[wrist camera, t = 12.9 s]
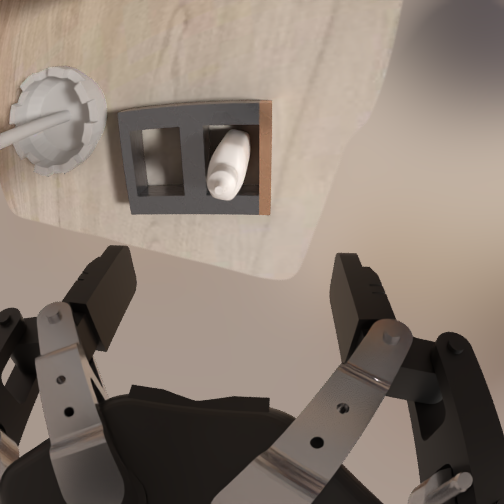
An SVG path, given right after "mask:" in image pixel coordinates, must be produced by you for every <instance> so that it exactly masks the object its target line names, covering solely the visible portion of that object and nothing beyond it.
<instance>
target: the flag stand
mask: <svg viewBox="0 0 504 504" xmlns="http://www.w3.org/2000/svg"><path fill="white" fill-rule="evenodd" d="M20 88H21V89H22V93H21V95H20V97H19V100H18V103H15V104H12V106H11V111H10V121H9V124H15V128H13V129H10V130H8V131H5V132H3V133H0V150H1V149H3V148H5V147H7V146H9V145H11V144H13V145H14V148H15V150H16V152H17V154H18V156H19V157H20V159H21V160H22V159H24V158H26V157H27V158H28V159H29V160H30V161H31V163H32V164H34V165H35V168H34V172H36V173H38V174H40V175H43V176H48V177H49V176H50V175H52V174H54V173H64V174H65V173H67V172H69V171H70V170H72V169H74V168H75V167H77V166H79V165H80V164H82V163H83V162H84V161H85V160H86V159H87V158H88V157H89V156H90V155H91V153H92V152H93V151H94V149H95V147H96V145H97V143H98V141H99V139H100V138H101V136H102V134H103V132H104V129H105V125H106V120H107V105H106V100H105V96H104V94H103V91H102V90H101V88H100V87H99V85H98V84H97V83H96V82H95V81H94V80H93V79H92V78H90V77H89V76H87V75H86V74H85V73H83V72H82V71H80V70H78V69H77V68H73V67H70V66H55V67H48V68H46V69H44V70H42V71H40V72H39V73H32V74H31V75H30V76H29V77H28V78H27V79H25V81H24V82H23V83H22V84H21V86H20Z"/></svg>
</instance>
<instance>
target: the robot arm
mask: <svg viewBox="0 0 504 504" xmlns="http://www.w3.org/2000/svg"><path fill="white" fill-rule="evenodd" d="M136 284H137V281H136V275H135V271H134V267H133V263H132V258H131V253H130V250H129V248H128V246H116V245H115V246H114V245H110V246H108V247H107V249H106V250H105V251H104V253H103V254H102V255H101V257H98V258H96V259H95V260H93V261H92V262H91V263H89V264H88V265H87V267H86V268H85V269H84V271H83V273H82V274H81V275H80V276H79V278H78V281H76V282H75V283H74V285H73V286H72V287H71V289H70V290H69V292H68V293H67V295H66V296H65V298H64V299H63V301H62V302H54V303H51V304H49V305H47V306H45V307H44V308H43V309H42V310H41V311H40V312H39V314H38V316H37V317H33V318H24V319H23V317H22V315H21V313H20V311H19V310H18V309H16V308H8V309H5V310H3V311H1V312H0V504H383V503H382V502H381V501H380V500H379V499H378V498H377V497H376V496H375V495H374V494H372V493H371V492H370V491H369V490H368V489H367V488H366V487H365V486H364V485H363V484H362V483H361V482H360V481H359V480H358V479H357V478H356V477H355V476H354V475H353V474H352V473H351V472H350V471H349V470H347V468H345V466H344V465H343V464H342V463H343V461H344V460H345V458H346V457H347V456H348V454H349V453H350V451H351V450H352V448H353V447H354V445H355V444H356V442H357V441H358V439H359V438H360V436H361V435H362V433H363V432H364V430H365V428H366V427H367V425H368V424H369V422H370V420H371V419H372V417H373V415H374V414H375V412H376V410H377V409H378V407H379V405H380V403H381V402H382V400H383V399H384V397H385V396H389V397H394V398H399V399H404V400H407V403H408V408H409V413H410V418H411V423H412V429H413V435H414V441H415V447H416V454H417V460H418V468H419V475H420V483H421V484H420V485H418V486H417V487H416V488H415V489H414V490H413V491H412V492H411V494H410V496H409V499H408V504H504V435H503V431H502V428H501V424H500V421H499V418H498V415H497V412H496V409H495V406H494V403H493V400H492V397H491V395H490V392H489V389H488V386H487V384H486V381H485V378H484V376H483V373H482V370H481V368H480V366H479V363H478V361H477V358H476V356H475V354H474V351H473V349H472V346H471V345H470V343H469V342H468V341H467V339H465V338H464V337H463V336H461V335H459V334H457V333H454V332H445V333H442V334H441V335H440V336H439V337H438V338H437V340H436V342H432V341H428V340H423V339H419V338H415V337H413V335H412V333H411V331H410V329H409V328H408V327H407V326H406V325H405V324H403V323H402V322H400V321H397V320H396V318H395V315H394V313H393V310H392V308H391V305H390V303H389V301H388V298H387V295H386V294H385V291H384V288H383V286H382V284H381V282H380V279H379V277H378V275H377V274H376V273H375V272H374V271H373V270H372V269H371V268H370V267H362V265H361V262H360V260H359V258H358V255H357V254H356V253H337V254H336V257H335V263H334V268H333V273H332V279H331V284H330V304H331V309H332V313H333V318H334V323H335V329H336V333H337V339H338V344H339V349H340V355H341V361H342V363H341V364H340V365H339V367H338V368H337V369H336V371H335V372H334V373H333V374H332V375H331V377H330V378H329V379H328V381H327V382H326V383H325V385H324V386H323V387H322V388H321V389H320V391H319V392H318V393H317V394H316V396H315V397H314V398H313V399H312V401H311V402H310V403H309V404H308V405H307V406H306V408H305V409H304V410H303V411H302V412H301V414H300V415H299V416H298V417H297V418H295V417H293V416H291V415H289V414H287V413H285V412H283V411H280V410H277V409H273V408H270V407H269V401H270V398H260V397H237V396H232V397H226V398H219V399H211V400H203V401H194V400H191V399H188V398H185V397H183V396H180V395H176V394H174V393H172V392H169V391H166V390H164V389H157V388H150V387H144V386H137V385H132V387H131V389H130V393H129V394H125V395H119V396H116V397H112V398H109V396H108V394H107V392H106V389H105V386H104V384H103V381H102V378H101V375H100V373H99V370H98V367H97V364H96V361H95V359H94V357H93V354H94V352H95V350H98V351H104V352H107V350H108V348H109V346H110V343H111V341H112V339H113V337H114V335H115V333H116V330H117V328H118V326H119V324H120V322H121V320H122V318H123V316H124V314H125V312H126V310H127V308H128V305H129V303H130V301H131V299H132V297H133V295H134V293H135V291H136ZM10 357H11V359H12V360H13V362H14V363H15V367H14V369H13V370H12V373H11V374H10V377H9V379H8V381H7V383H6V385H5V386H4V385H3V383H2V379H1V374H2V371H3V369H4V367H5V365H6V364H7V362H8V360H9V358H10ZM39 391H40V396H41V402H42V407H43V412H44V416H45V421H46V425H47V429H48V433H49V437H50V438H48V439H47V440H45V441H44V442H42V443H41V444H40V445H38V446H37V447H35V448H34V449H32V450H31V451H29V452H27V453H26V454H24V455H23V456H21V457H20V458H19V449H18V446H19V443H20V440H21V437H22V434H23V431H24V429H25V426H26V423H27V421H28V418H29V416H30V413H31V411H32V408H33V406H34V403H35V400H36V398H37V396H38V393H39Z"/></svg>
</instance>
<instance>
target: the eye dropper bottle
mask: <svg viewBox="0 0 504 504" xmlns="http://www.w3.org/2000/svg"><path fill="white" fill-rule="evenodd" d="M250 151H251V143H250V137H249V134H248V133H247V132H245V131H241V130H236V129H231V130H229V131H228V132H227V134H226V135H225V137H224V138H223V139H222V141H221V142H220V144H219V145H218V147H217V148H216V150H215V152H214V154H213V156H212V158H211V160H210V163H209V167H208V175H207V186H208V189H209V191H210V193H211V195H212V197H214V198H217V199H221V200H231V199H233V198H234V197H235V196H236V194H237V193H238V192H239V190H240V188H241V186H242V184H243V181H244V178H245V174H246V170H247V166H248V162H249V158H250Z"/></svg>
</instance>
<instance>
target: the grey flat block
mask: <svg viewBox="0 0 504 504" xmlns="http://www.w3.org/2000/svg"><path fill="white" fill-rule="evenodd" d="M118 123H119V132H120V141H121V149H122V157H123V165H124V172H125V178H126V185H127V191H128V197H129V203H130V209H131V215H133V214H245V215H270V206H271V150H272V101H269V100H237V101H207V102H190V103H176V104H165V105H155V106H146V107H138V108H130V109H127V110H124V111H121V112H118ZM209 125H259V185H242V186H241V188H240V190H239V192H238V193H237V194H236V196H235V197H234V198H233V199H231V200H221V199H217V198H214V197H212V195H211V193H210V191H209V189H208V186H207V175H208V167H209V163H210V160H211V155H210V133H209ZM169 127H179V128H180V142H181V156H182V168H183V180H184V185H161V186H148V181H147V173H146V165H145V156H144V147H143V138H142V130H145V129H157V128H169Z"/></svg>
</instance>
